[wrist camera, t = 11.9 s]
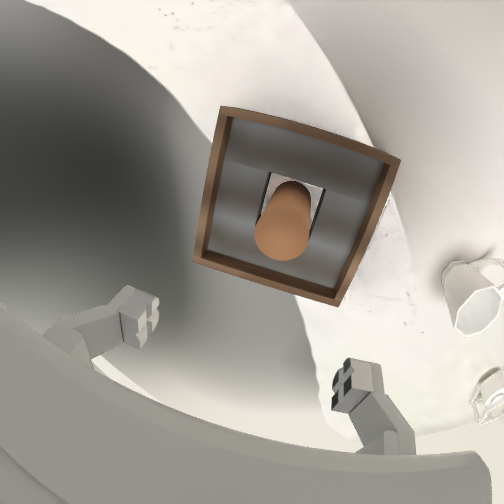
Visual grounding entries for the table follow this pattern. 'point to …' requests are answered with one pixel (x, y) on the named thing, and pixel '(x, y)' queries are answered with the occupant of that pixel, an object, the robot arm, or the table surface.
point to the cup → (471, 296)
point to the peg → (285, 222)
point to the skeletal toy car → (489, 397)
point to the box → (299, 168)
